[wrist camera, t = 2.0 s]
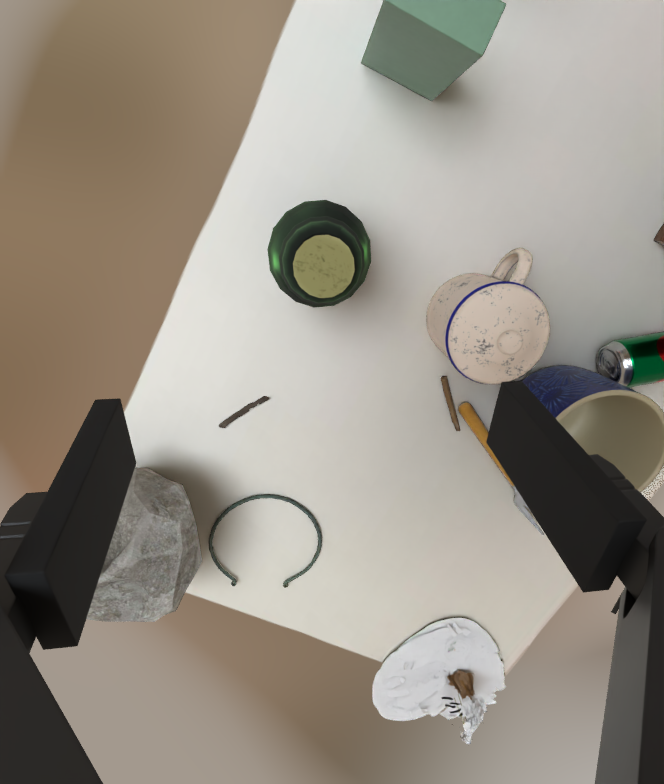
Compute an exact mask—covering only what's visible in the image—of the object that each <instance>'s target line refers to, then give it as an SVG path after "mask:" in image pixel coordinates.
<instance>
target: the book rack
mask: <svg viewBox="0 0 664 784" xmlns="http://www.w3.org/2000/svg"><path fill="white" fill-rule="evenodd" d="M654 241H656V242H658V243H660V244H662V245H663V246H664V224H663V226H662V227H661V229H660V230H659V232H658V233H657V235H656V237H655V238H654Z"/></svg>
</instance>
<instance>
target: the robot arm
mask: <svg viewBox="0 0 664 784" xmlns="http://www.w3.org/2000/svg"><path fill="white" fill-rule="evenodd" d="M486 443H487V444H488V446H489V447H490V449H491V450H492V452H493V454H494V455H495V457H496V458H497V460H498V461H499V463H500V464H501V466H502V467H503V469H504V471H505V472H506V474H507V475H508V477H509V478H510V480H511V481H512V483H513V484H514V486H515V488H516V489H517V491H518V492H519V494H520V495H521V497H522V498H523V500H524V501H525V503H526V505H527V506H528V508H529V509H530V511H531V512H532V514H533V515H534V517H535V518H536V520H537V522H538V523H539V525H540V526H541V528H542V529H543V531H544V532H545V534H546V535H547V537H548V539H549V540H550V542H551V543H552V545H553V546H554V548H555V549H556V551H557V552H558V554H559V556H560V557H561V559H562V560H563V562H564V563H565V565H566V566H567V568H568V569H569V571H570V573H571V574H572V576H573V577H574V579H575V580H576V582H577V583H578V585H579V586H580V588H581V590H582V591H583V592H591V591H600V590H609V588H610V587H611V585H612V583H613V581H614V579H615V577H616V576H618V577H619V579H620V580H621V581H622V583H623V584H624V585H625V588H624V590H623V592H622V593H621V595H620V597H619V599H618V601H617V602H616V604H615V606H614V608H613V610H612V611H611V612H612V613H614V614H616V613H617V611H618V609H619V613H618V620H617V627H616V635H615V642H614V649H613V656H612V663H611V670H610V679H609V685H608V692H607V699H606V706H605V714H604V721H603V728H602V735H601V742H600V750H599V757H598V764H597V771H596V778H595V784H664V517H663V516H662V515H661V514H660V513H659V512H658V511H657V510H656V509H655V508H654V507H653V506H652V504H651V503H650V502H649V501H648V500H647V499H646V498H645V497H644V496H643V495H642V494H641V493H640V492H639V491H638V490H637V489H635V487H634V485H633V484H632V483H631V482H630V481H629V480H628V479H625V476H624V475H623V474H622V473H621V472H620V471H619V470H618V469H617V467H616V466H615V465H614V464H612V463H610V462H609V461H607V460H606V459H604V458H603V457H601V456H600V455H598V454H593V455H588V454H587V453H586V452H585V450H584V449H583V448H582V447H581V446H580V445H579V444H578V443H577V442H576V440H575V439H574V438H573V437H572V436H571V435H570V434H569V433H568V432H567V431H566V429H565V428H564V427H563V426H562V425H561V424H560V423H559V422H558V421H557V419H556V418H555V417H554V416H553V415H552V414H551V413H550V412H549V411H548V409H547V408H546V407H545V406H544V405H543V404H542V403H541V402H540V401H539V400H538V398H537V397H536V396H535V395H534V394H533V393H532V392H531V391H530V390H529V388H528V387H527V386H526V385H525V384H524V383H523V382H522V381H510V382H502V383H501V387H500V391H499V395H498V398H497V402H496V406H495V410H494V414H493V418H492V422H491V425H490V429H489V433H488V437H487V441H486ZM135 466H136V461H135V457H134V453H133V448H132V444H131V440H130V436H129V432H128V428H127V424H126V420H125V416H124V412H123V408H122V404H121V400H120V399H102V400H95V401H94V403H93V405H92V407H91V409H90V411H89V413H88V415H87V417H86V419H85V421H84V423H83V425H82V427H81V428H80V430H79V432H78V434H77V436H76V438H75V440H74V442H73V444H72V446H71V448H70V450H69V452H68V454H67V455H66V457H65V459H64V461H63V463H62V465H61V467H60V469H59V471H58V473H57V475H56V477H55V479H54V480H53V483H52V484H51V487H50V488H49V490H48V492H38V493H26V494H25V495H24V496H23V497H22V498H20V499H19V500H18V501H17V502H16V503H15V504H14V505H13V506H12V507H10V509H9V510H8V512H7V514H6V515H5V517H4V519H3V520H2V522H1V526H0V784H103V783H102V781H101V779H100V778H99V776H98V774H97V772H96V770H95V769H94V767H93V765H92V763H91V762H90V760H89V758H88V756H87V755H86V753H85V751H84V749H83V747H82V746H81V744H80V742H79V740H78V739H77V737H76V735H75V733H74V732H73V730H72V728H71V726H70V725H69V723H68V721H67V719H66V718H65V716H64V714H63V712H62V710H61V709H60V707H59V705H58V704H57V702H56V700H55V698H54V696H53V695H52V693H51V691H50V689H49V688H48V686H47V684H46V682H45V681H44V679H43V677H42V675H41V674H40V672H39V670H38V668H37V666H36V665H35V663H34V662H33V659H32V658H31V656H30V654H29V653H30V650H31V648H32V645H33V643H34V640H35V638H36V637H37V639H38V640H39V642H40V644H41V646H42V648H43V649H44V650H45V649H53V648H63V647H72V646H77V645H78V642H79V640H80V636H81V633H82V630H83V627H84V624H85V621H86V618H87V615H88V612H89V609H90V605H91V602H92V599H93V596H94V593H95V590H96V587H97V584H98V581H99V577H100V574H101V571H102V568H103V565H104V562H105V559H106V556H107V553H108V550H109V546H110V543H111V540H112V537H113V534H114V531H115V528H116V525H117V522H118V518H119V515H120V512H121V509H122V506H123V503H124V500H125V497H126V494H127V490H128V487H129V484H130V481H131V478H132V475H133V472H134V469H135Z"/></svg>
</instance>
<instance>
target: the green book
mask: <svg viewBox="0 0 664 784" xmlns="http://www.w3.org/2000/svg"><path fill="white" fill-rule="evenodd" d="M505 6H506V3H504V2H502V1H501V0H384V1H383V4H382V6H381V9H380V12H379V15H378V17H377V20H376V23H375V26H374V28H373V31H372V34H371V36H370V39H369V42H368V45H367V47H366V50H365V53H364V56H363V58H362V61H361V63H362V64H364V65H365V66H367V67H369V68H371V69H373V70H375V71H377V72H378V73H380V74H382V75H384V76H386V77H388V78H390V79H391V80H393V81H395V82H397V83H399V84H401V85H403V86H404V87H406V88H408V89H410V90H412V91H414V92H416V93H417V94H419V95H421V96H423V97H425V98H427V99H429V100H430V101H433V100H434V99H435V98H436V97H437V96H438V95H439V94H440V93H441V92H443V91H444V90H445V89H446V88H447V87H448V86H449V85H450V84H452V83H453V82H454V81H455V80H456V79H457V78H458V77H459V76H460V75H462V74H463V73H464V72H465V71H466V70H467V69H468V68H469V67H471V66H472V65H473V64H474V63H475V62H476V61H477V60H478V59H479V58H481V57H482V56H483V54H484V52H485V50H486V48H487V46H488V43H489V41H490V39H491V37H492V35H493V33H494V30H495V28H496V26H497V24H498V22H499V19H500V17H501V15H502V13H503V11H504V9H505Z"/></svg>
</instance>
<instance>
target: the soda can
mask: <svg viewBox="0 0 664 784" xmlns="http://www.w3.org/2000/svg"><path fill="white" fill-rule="evenodd" d="M597 369H598V373H599V374H600V375H602V376H605V377H607V378H609V379H611V380H613V381H615V382H617V383H620V384H622V385H624V386H626V387H628V388H629V387H635V386H640V385H646V384H652V383H657V382H663V381H664V332H659V333H653V334H647V335H642V336H636V337H631V338H625V339H619V340H614V341H612V342H610V343H609V344H608V345H606V346H603V347H601V348H600V350H599V351H598V354H597Z"/></svg>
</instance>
